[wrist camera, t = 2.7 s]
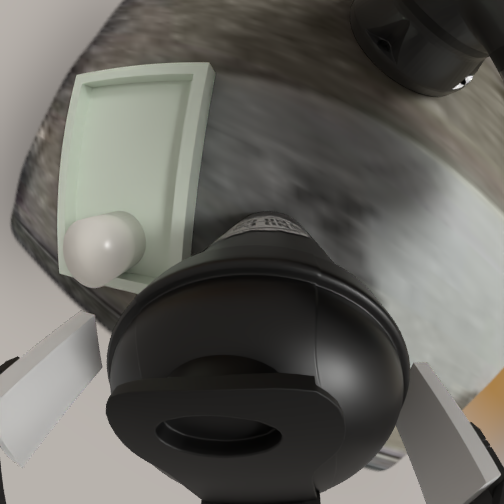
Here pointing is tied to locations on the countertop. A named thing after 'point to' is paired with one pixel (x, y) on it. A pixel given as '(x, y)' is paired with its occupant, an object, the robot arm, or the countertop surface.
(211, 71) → the tray
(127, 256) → the white domed cylinder
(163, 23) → the countertop surface
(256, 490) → the water bottle
